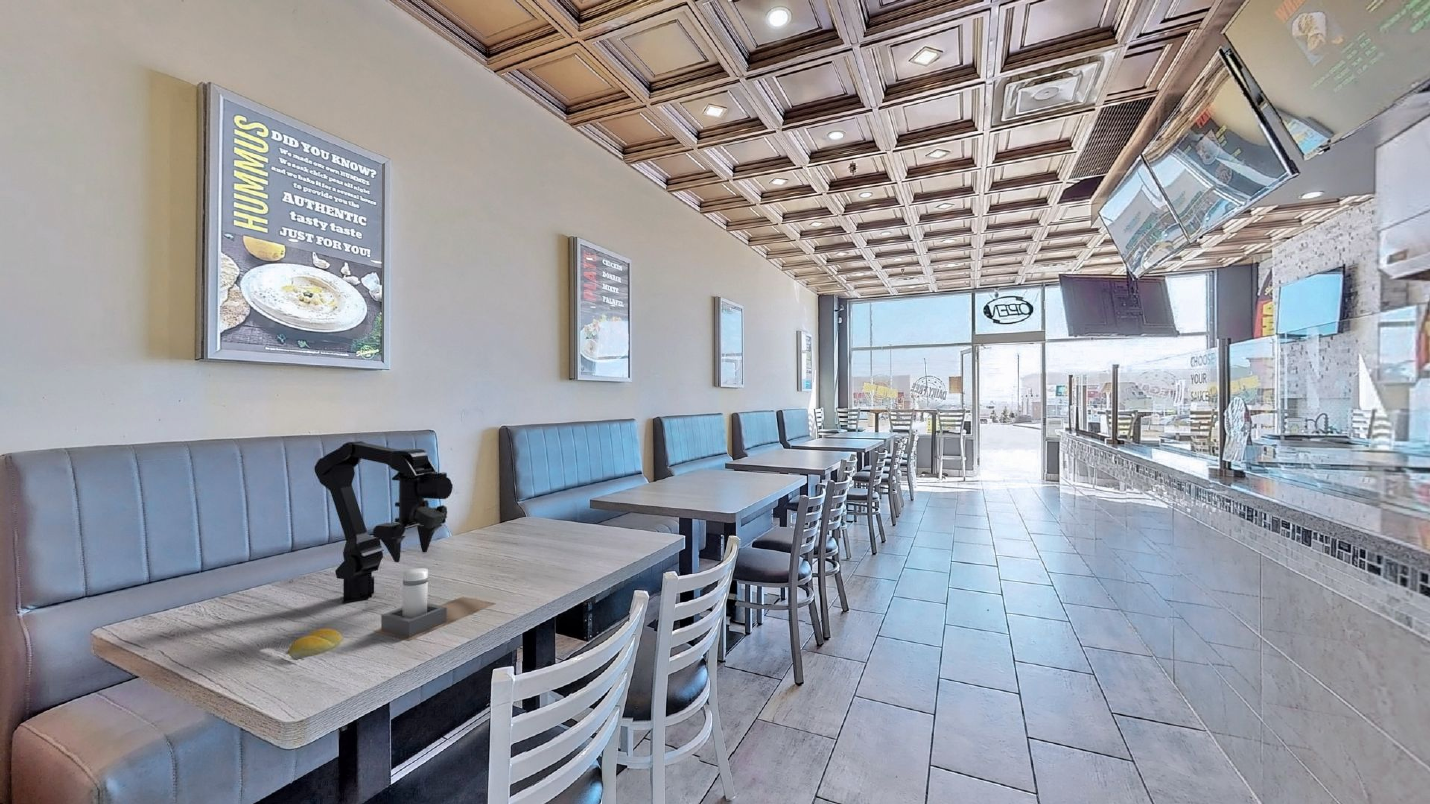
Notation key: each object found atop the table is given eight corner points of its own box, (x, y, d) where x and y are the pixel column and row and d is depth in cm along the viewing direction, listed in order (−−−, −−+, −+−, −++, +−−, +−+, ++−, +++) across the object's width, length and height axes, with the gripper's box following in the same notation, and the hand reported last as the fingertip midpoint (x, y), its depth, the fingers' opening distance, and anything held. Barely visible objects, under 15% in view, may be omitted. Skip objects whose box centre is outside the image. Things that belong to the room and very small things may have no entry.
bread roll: (278, 660, 109) (279, 640, 109) (318, 641, 117) (318, 623, 117) (313, 663, 107) (314, 643, 107) (351, 644, 116) (351, 625, 116)
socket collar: (409, 638, 117) (409, 622, 117) (381, 630, 121) (381, 614, 121) (446, 622, 125) (446, 607, 125) (419, 615, 129) (419, 601, 129)
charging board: (408, 644, 115) (408, 640, 115) (373, 634, 120) (373, 631, 120) (496, 606, 137) (496, 603, 137) (462, 599, 142) (462, 596, 142)
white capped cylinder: (397, 631, 120) (399, 575, 120) (406, 622, 125) (407, 568, 125) (422, 629, 121) (424, 574, 121) (429, 621, 126) (431, 567, 126)
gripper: (409, 505, 129) (409, 570, 129) (462, 493, 147) (462, 549, 147) (371, 503, 131) (371, 566, 131) (428, 491, 150) (427, 547, 149)
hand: (411, 557), depth 140 cm, fingers open, 9 cm apart
